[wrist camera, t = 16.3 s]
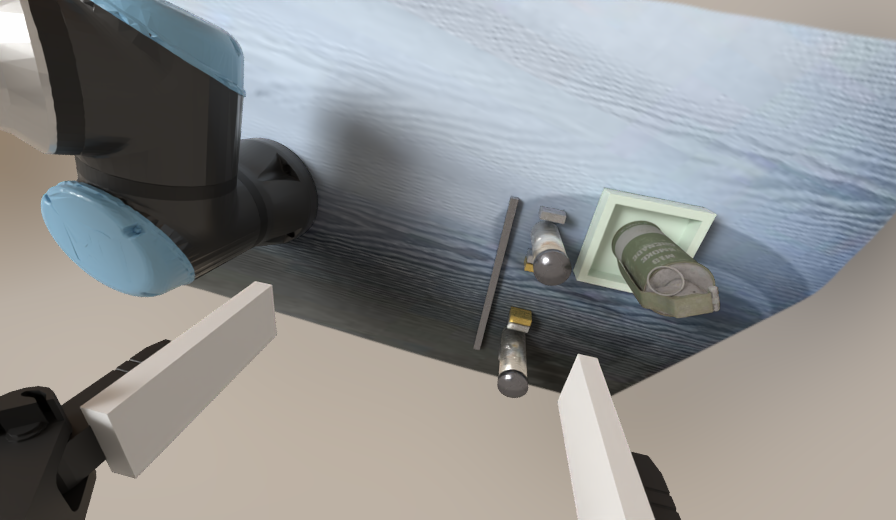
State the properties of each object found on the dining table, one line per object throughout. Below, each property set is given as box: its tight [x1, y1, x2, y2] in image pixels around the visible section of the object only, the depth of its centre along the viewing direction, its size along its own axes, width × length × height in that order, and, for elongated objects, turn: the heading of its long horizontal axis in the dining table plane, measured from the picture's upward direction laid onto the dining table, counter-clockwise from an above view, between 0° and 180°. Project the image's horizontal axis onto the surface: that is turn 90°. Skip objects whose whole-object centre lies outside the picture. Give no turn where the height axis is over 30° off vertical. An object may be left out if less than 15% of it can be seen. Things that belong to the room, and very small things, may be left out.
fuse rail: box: [473, 196, 572, 398], centre depth 43 cm, size 7×25×11 cm, turn 171°
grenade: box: [612, 220, 720, 318], centre depth 35 cm, size 6×6×15 cm
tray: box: [573, 188, 717, 293], centre depth 41 cm, size 12×12×3 cm
